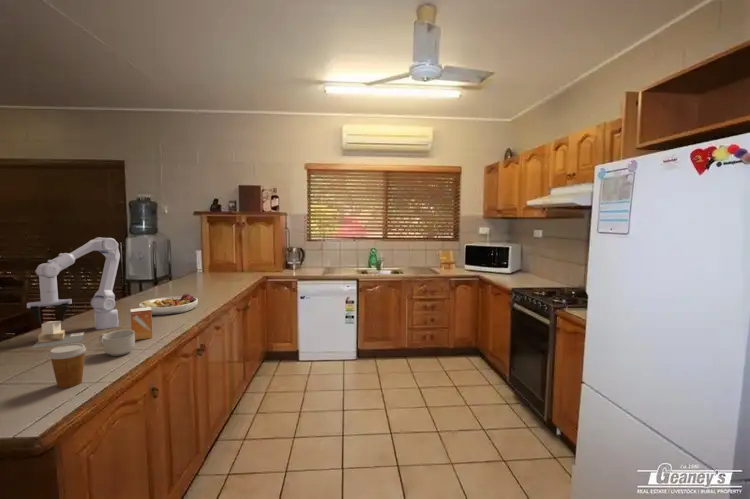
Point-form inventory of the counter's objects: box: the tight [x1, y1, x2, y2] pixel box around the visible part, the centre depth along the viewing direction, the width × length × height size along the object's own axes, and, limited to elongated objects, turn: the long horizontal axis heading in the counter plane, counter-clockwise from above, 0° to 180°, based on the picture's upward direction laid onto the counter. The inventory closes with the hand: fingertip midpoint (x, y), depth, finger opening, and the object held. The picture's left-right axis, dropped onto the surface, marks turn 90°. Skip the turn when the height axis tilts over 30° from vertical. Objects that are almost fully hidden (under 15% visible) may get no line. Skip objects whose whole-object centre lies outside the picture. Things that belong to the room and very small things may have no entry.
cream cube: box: [41, 320, 62, 334], centre depth 165 cm, size 4×4×4 cm
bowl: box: [138, 292, 199, 316], centre depth 223 cm, size 30×30×8 cm
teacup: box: [98, 329, 136, 357], centre depth 152 cm, size 14×11×8 cm
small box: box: [129, 307, 153, 341], centre depth 171 cm, size 8×6×13 cm
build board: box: [32, 331, 86, 349], centre depth 165 cm, size 16×16×1 cm
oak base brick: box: [37, 329, 66, 343], centre depth 165 cm, size 8×6×3 cm
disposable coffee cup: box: [48, 343, 87, 389], centre depth 124 cm, size 10×10×12 cm
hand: (51, 322), depth 165 cm, fingers open, 7 cm apart
